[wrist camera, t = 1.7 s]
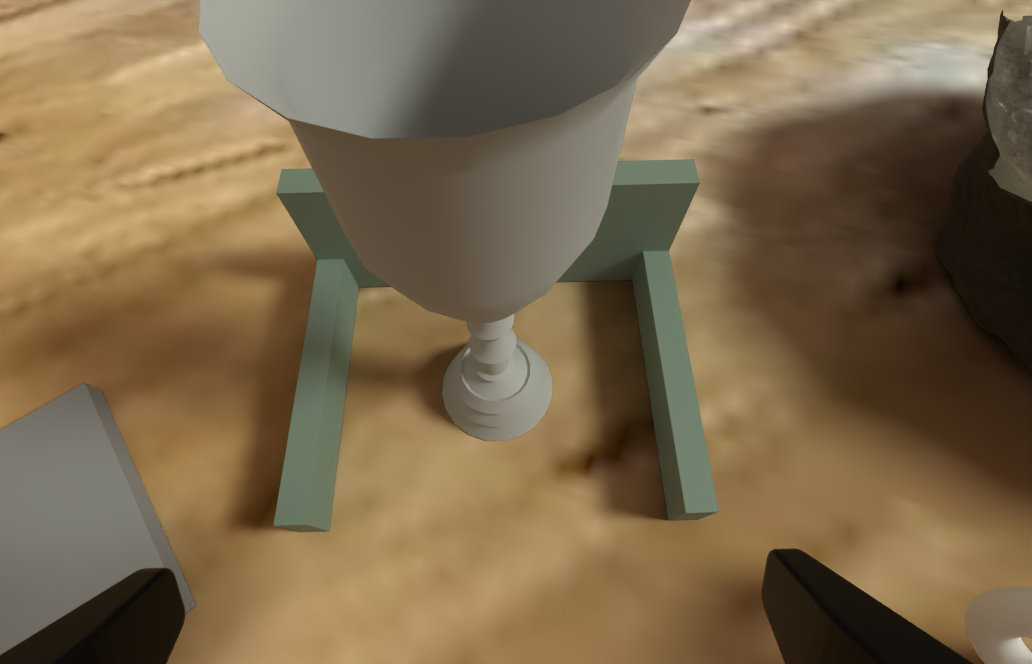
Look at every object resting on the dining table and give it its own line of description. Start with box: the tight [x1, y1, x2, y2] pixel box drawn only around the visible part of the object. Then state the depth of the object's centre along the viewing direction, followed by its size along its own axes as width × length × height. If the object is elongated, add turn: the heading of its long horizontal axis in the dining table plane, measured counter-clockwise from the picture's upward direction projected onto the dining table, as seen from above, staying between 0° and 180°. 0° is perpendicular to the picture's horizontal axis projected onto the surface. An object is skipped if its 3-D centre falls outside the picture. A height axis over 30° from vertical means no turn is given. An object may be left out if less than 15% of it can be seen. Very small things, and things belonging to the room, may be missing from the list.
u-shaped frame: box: [273, 159, 719, 532], centre depth 21 cm, size 13×16×7 cm
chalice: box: [199, 0, 691, 441], centre depth 16 cm, size 7×7×18 cm
